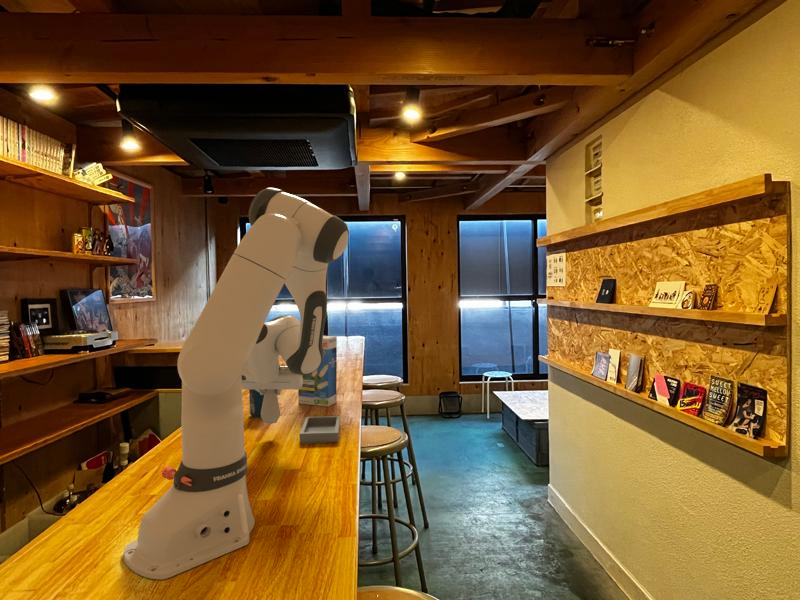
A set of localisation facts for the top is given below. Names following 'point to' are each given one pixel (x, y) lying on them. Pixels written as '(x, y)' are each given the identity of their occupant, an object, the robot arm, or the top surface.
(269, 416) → the salt shaker
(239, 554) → the top surface
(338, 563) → the top surface
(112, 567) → the top surface
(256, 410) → the soda can
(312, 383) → the string lights box
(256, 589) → the top surface
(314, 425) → the trough
